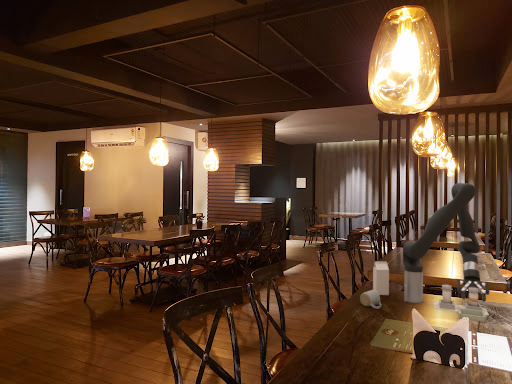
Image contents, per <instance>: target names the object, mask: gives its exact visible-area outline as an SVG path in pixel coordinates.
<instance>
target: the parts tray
mask: <svg viewBox="0 0 512 384" xmlns="http://www.w3.org/2000/svg"><path fill="white" fill-rule="evenodd" d="M457 314H458V319H459V320H462V319H461V318H463V317H468V318H469V320H468V321H477V322H483V323H484V322H485V323H487V315H485V313H484V311H479V310H471V309H462V308H458V312H457Z"/></svg>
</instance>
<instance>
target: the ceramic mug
mask: <svg viewBox="0 0 512 384" xmlns="http://www.w3.org/2000/svg"><path fill="white" fill-rule="evenodd" d="M359 301H360V303H361V304H362V306H364V307H371V308H372V309H373V308H374V309H376V310H379V309H381V308H382V303H381V295H379V294H378V292H377V291H375V290H373V289H371V290H368V291H365V292H362V293H361V294H360V296H359Z"/></svg>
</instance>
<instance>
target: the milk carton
mask: <svg viewBox="0 0 512 384" xmlns="http://www.w3.org/2000/svg"><path fill="white" fill-rule="evenodd" d="M372 268H373V271H372V276H373V277H372V290H375V291H377V292H378V294H379V296H389V295H390V269H389V265H388V261H374V264H373V267H372Z"/></svg>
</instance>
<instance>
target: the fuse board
mask: <svg viewBox="0 0 512 384" xmlns="http://www.w3.org/2000/svg"><path fill="white" fill-rule="evenodd" d="M442 302H443V299H438V302H435V301H434V302H433V309H434V310H442V311H448V312H449V311H451V312H456V313H458V308H462V309H471V310H479V311H484V313H485V315H486V316H490V314H489V312H488V310H487V309H486V307H482V304H481V303H478V307H475V306H468V305H469V301H468V302H464V305H463V304H455V302H454V300H451V303H452V304H448V303H442Z"/></svg>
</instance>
